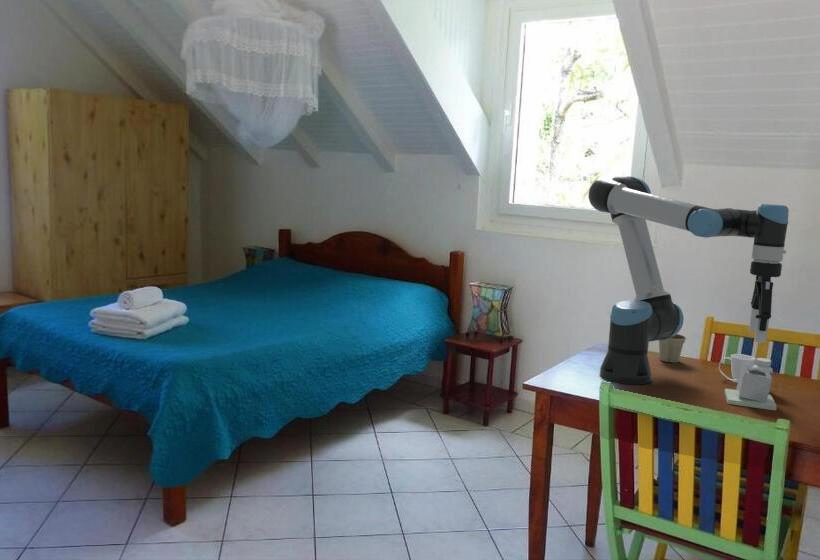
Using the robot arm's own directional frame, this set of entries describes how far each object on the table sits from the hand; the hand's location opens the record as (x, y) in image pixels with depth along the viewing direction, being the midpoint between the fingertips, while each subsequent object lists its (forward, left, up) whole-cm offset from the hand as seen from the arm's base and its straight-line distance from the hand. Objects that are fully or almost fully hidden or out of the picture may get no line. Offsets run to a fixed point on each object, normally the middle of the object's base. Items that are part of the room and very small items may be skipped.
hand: (756, 336), depth 188 cm
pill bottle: (+4, +12, -19) cm, 23 cm away
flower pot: (-21, +36, -19) cm, 46 cm away
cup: (-2, +20, -19) cm, 27 cm away
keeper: (0, 0, -19) cm, 19 cm away
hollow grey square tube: (0, 0, -17) cm, 17 cm away
